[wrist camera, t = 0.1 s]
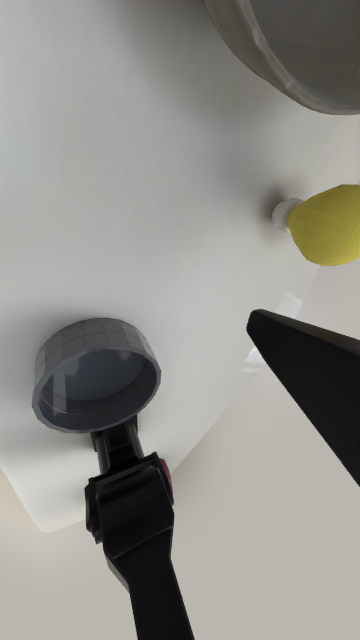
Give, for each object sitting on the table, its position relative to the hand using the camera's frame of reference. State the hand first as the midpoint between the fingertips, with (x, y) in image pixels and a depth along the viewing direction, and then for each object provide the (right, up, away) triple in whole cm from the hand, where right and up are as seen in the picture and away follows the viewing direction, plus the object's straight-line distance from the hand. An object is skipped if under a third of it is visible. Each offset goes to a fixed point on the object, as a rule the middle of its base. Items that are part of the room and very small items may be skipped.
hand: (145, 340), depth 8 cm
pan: (-8, -4, +18) cm, 21 cm away
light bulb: (+12, +13, +18) cm, 25 cm away
